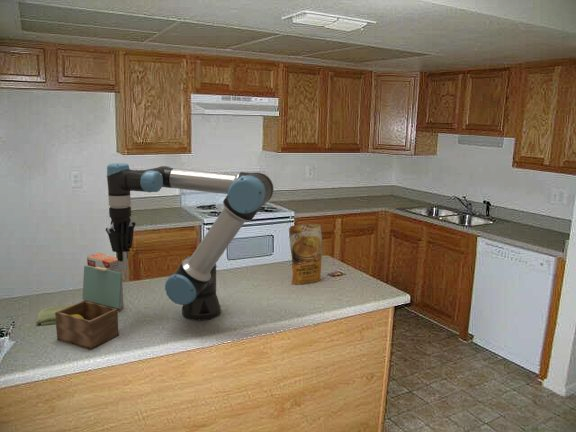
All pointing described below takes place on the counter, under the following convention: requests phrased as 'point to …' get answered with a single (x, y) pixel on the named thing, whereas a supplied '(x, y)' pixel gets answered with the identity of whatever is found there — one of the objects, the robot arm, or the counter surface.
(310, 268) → the pancake mix bag
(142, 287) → the counter surface
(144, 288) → the counter surface
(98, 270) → the lid
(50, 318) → the washcloth
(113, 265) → the cracker box
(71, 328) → the box
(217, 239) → the robot arm
